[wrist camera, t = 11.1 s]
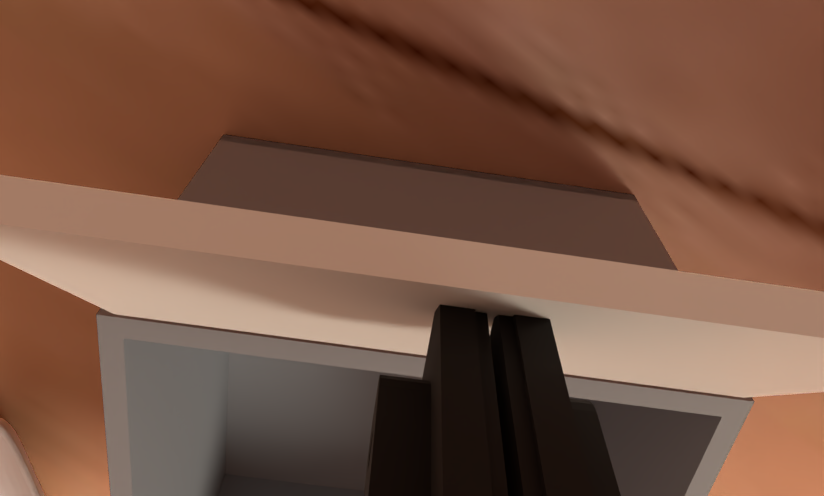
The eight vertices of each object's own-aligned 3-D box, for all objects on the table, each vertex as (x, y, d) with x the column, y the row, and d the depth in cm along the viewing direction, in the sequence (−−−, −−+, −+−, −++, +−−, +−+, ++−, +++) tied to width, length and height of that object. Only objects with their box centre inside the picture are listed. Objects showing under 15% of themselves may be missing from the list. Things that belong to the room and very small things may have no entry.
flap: (-107, 209, 8) (-91, 162, 9) (114, 314, 16) (120, 288, 17) (1084, 373, 9) (1079, 327, 9) (743, 397, 17) (743, 372, 17)
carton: (633, 194, 28) (754, 401, 18) (529, 510, 37) (569, 772, 27) (223, 134, 27) (96, 314, 17) (216, 472, 36) (128, 728, 26)
